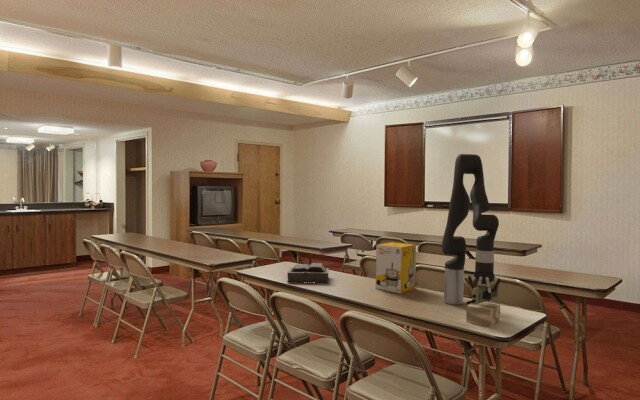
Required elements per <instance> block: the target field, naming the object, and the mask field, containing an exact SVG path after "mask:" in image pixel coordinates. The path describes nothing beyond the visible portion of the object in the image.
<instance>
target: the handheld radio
mask: <svg viewBox="0 0 640 400" xmlns="http://www.w3.org/2000/svg"><path fill="white" fill-rule="evenodd" d="M495 283H496V282H495V281H494V282H491V283H490V285H491V289H492V288H493V287H494V285H495ZM475 287H476V288H473V289H472V294H471V295H472V296H471V299H472V300H468V301H466V303H465V304H466V305H470V304H474V305H476V304H479V303H482V302H489V301H488V288H487V285H486V284H482V285H480V287H477V286H475ZM498 296H499V286H498V287H497V289H496V291H495V292H492V293H491V300H494V299H497V298H498Z"/></svg>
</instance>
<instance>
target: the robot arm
mask: <svg viewBox="0 0 640 400" xmlns="http://www.w3.org/2000/svg"><path fill="white" fill-rule="evenodd" d="M453 172H454V173H453V183H452V190H451V196H450V201H449V205H448V206H449V207H448V214H447V221H446V224H445V225H446V226H445V229H444V234H443V237H442V242H441V251H442V253H443V254H444V255H448V256H454V257H453V258H452V259H449V260H447V261H445V262H444V283H443V285H444V286H443V287H444V290H443V291H444V293H443V302H444V303H446V304H448V305H455V306H456V305H463V304H464V289H465V288H464V285H465V284H464V283H465V282H464V281H465V280H464V278H465V275H464V274H465V264H466V252H467V241H466V239H465V237H463V236H462V235H461V236H460V235H459V236H457V235H456V236H455V233H456V231H457V229H458V227H459V226H460V225H461V224H462V223H463V222H464V221H465V219H466V218H467V217H468V215H469V211H470V206H472V226H473V228H474V230H476V231H477V232H478V231H479V232H484V231H485V232H486V233H484V235H480V236H478V237H476V244H475V245H476V247H475V249H476V250H475V257H474V259H475V260H474V261H475V265H474V266H475V267H474V269H475V270H474V273H473V274H472V275H468V276H467V279H468V281H469V285H470V287H471V289H472V290H473V288H476V287H480V286H482V285H487V288H488V301H487V302H490V301H491V300H492V299H491V293H492V292H495V291H496V289H497V287H498V288H499V286H500V285H499V284H501V277H497V276H495V274H494V272H495V271H494V270H495V269H494V268H495V267H494V266H495V253H494V249H495V247H494V246H495V245H494V243H495V239H496V235H497V232H498V230H499V225H500V222H499V218H498V217H497V216H496V215H495V214H483V213H487V212H488V211H489V210H490V207H491V206H490V203H489V200H488V199H489V198H488V196H487V192H486V186H485V177H484V168H483V163H482V160H481V157H480V155H478V154H474V153H473V154H472V153H471V154H469V153H459V154H458V155H457V156H456V158H455V162H454V171H453ZM465 175H473V177H474V182H473V185H472V187H471V190H470V193H469V194H468V191H467V190H466V187H465V185H464V176H465ZM474 279H475V280H476V282H477V286H475V283H474ZM493 280H494V282H495V285H494V287H493V288H492V289H491V285H490V283H493Z"/></svg>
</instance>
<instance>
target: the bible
mask: <svg viewBox="0 0 640 400" xmlns="http://www.w3.org/2000/svg"><path fill="white" fill-rule="evenodd" d="M329 269H330V268H329V267H325V266H324V264H323V263H322V262H312V263H310V264H307V263H303V264H300V263H298V264H297V263H296V264H295V265H294V266H293V267H290V268H289V270H288V272H287V283H288V282H307V283H306V284H311V283H310V282H315V283H314V284H317V283H327V284H329ZM308 282H309V283H308Z"/></svg>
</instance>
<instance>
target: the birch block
mask: <svg viewBox="0 0 640 400" xmlns="http://www.w3.org/2000/svg"><path fill="white" fill-rule="evenodd" d="M465 312H466V315H465V316H466V317H465V318H466V319H465V321H466V322H467V323H471V324H475V325H479V326H480V325H481V326H485V327H488V328H490V327H491V326H493V325H494V324H496V323H498V322H499V321H501V304H497V303H493V302H487V301H485V302H482V303H479V304H476V305H474V304H472V303H471V304H467V305H466V311H465Z"/></svg>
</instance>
